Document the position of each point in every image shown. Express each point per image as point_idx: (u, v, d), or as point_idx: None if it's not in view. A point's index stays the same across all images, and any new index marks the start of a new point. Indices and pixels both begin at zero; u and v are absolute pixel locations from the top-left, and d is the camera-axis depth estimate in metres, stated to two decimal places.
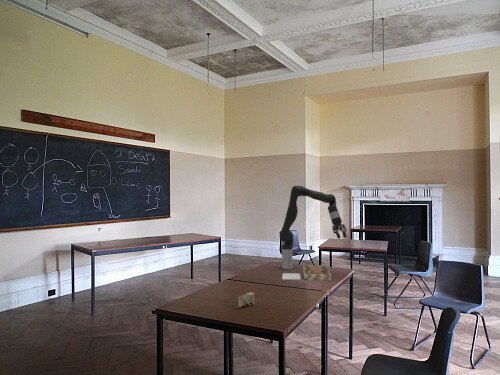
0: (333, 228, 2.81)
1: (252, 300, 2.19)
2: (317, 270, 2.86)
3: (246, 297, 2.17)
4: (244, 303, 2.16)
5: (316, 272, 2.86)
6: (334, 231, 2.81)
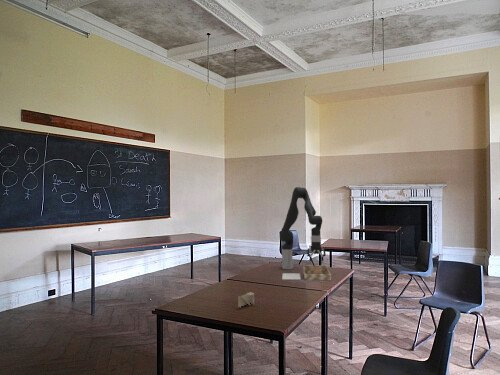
0: None
1: (252, 300, 2.19)
2: (317, 270, 2.86)
3: (246, 297, 2.17)
4: (244, 303, 2.15)
5: (316, 272, 2.86)
6: None
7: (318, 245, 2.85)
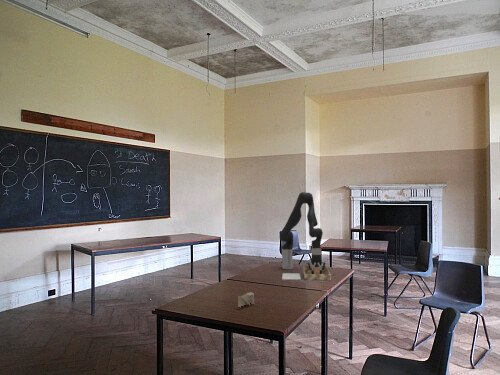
0: None
1: (252, 300, 2.18)
2: (317, 270, 2.86)
3: (246, 297, 2.17)
4: (244, 303, 2.15)
5: (316, 272, 2.86)
6: (310, 267, 2.89)
7: (318, 258, 2.85)
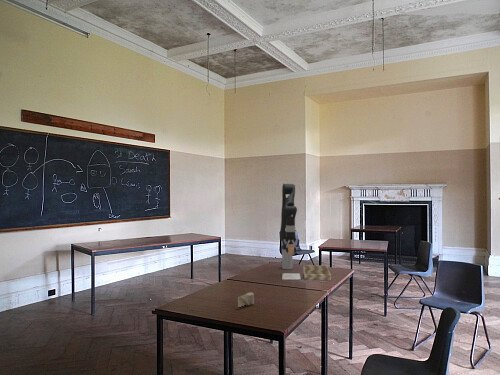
0: (283, 242, 2.92)
1: (252, 300, 2.18)
2: (291, 247, 2.88)
3: (246, 297, 2.17)
4: (244, 303, 2.15)
5: (290, 249, 2.88)
6: None
7: (292, 235, 2.87)
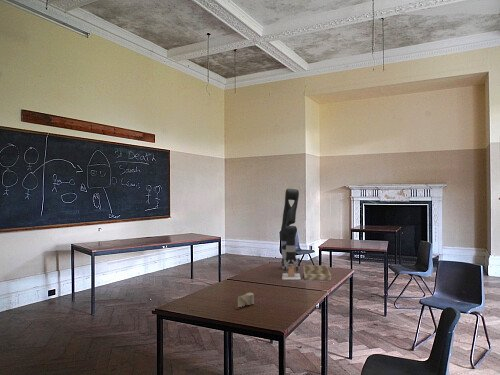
0: None
1: (251, 300, 2.18)
2: (292, 269, 2.88)
3: (245, 297, 2.16)
4: (243, 303, 2.15)
5: (291, 271, 2.88)
6: None
7: (292, 255, 2.87)
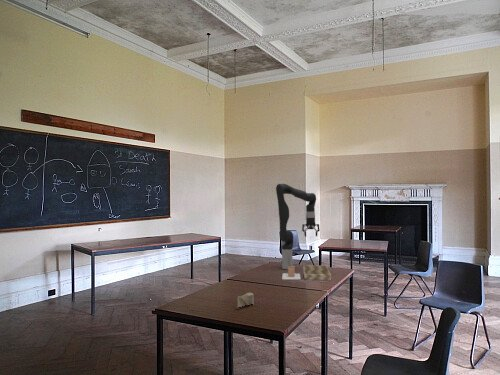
0: None
1: (251, 300, 2.18)
2: (292, 269, 2.88)
3: (245, 297, 2.16)
4: (243, 303, 2.15)
5: (291, 271, 2.88)
6: None
7: (312, 221, 3.01)
